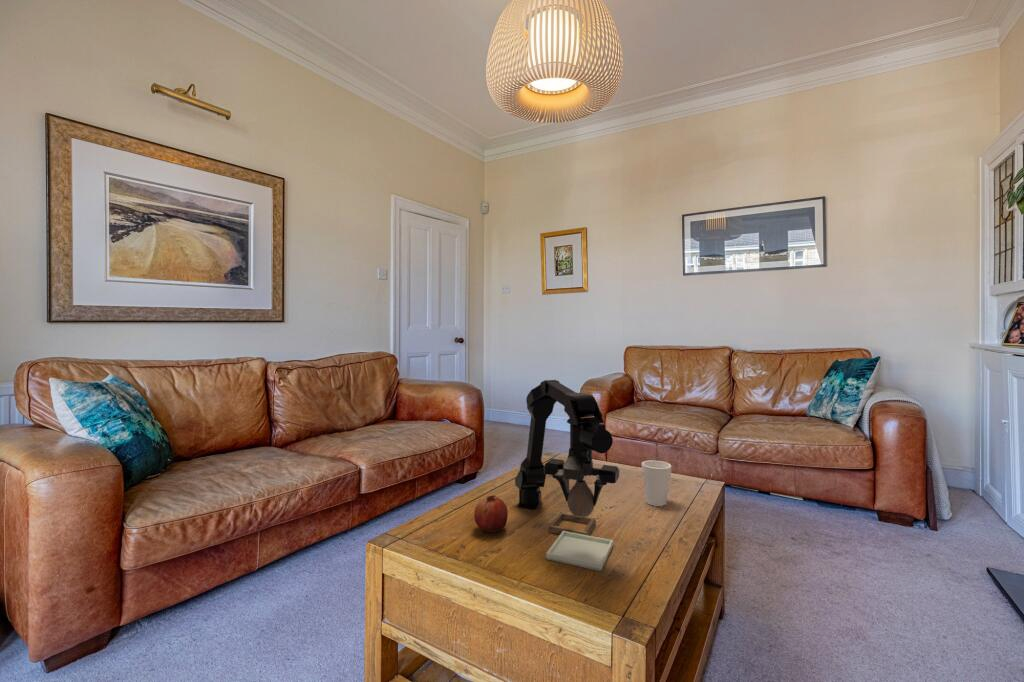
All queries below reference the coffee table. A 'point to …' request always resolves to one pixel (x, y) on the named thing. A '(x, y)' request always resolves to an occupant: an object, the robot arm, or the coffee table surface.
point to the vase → (580, 499)
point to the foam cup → (656, 481)
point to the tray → (580, 550)
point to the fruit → (491, 514)
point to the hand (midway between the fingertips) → (580, 503)
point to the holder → (570, 517)
